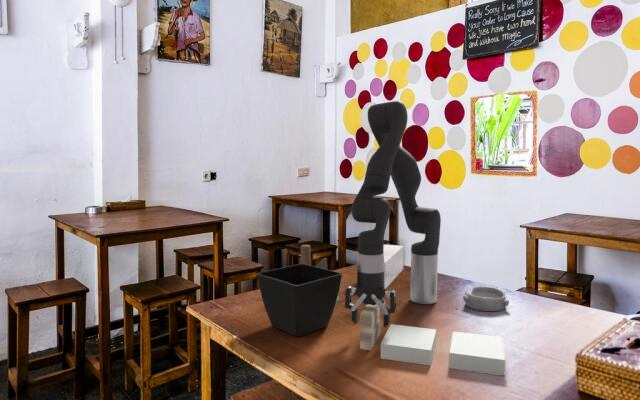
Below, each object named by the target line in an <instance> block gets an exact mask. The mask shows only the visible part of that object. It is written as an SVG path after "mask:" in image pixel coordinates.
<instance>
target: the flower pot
mask: <svg viewBox="0 0 640 400" xmlns="http://www.w3.org/2000/svg"><path fill="white" fill-rule="evenodd" d="M342 275H343V274H342V272H338V271H335V270H331V269H328V268H327V269H323V268H318V267H315V266H314V265H311V266H310V265H306V264H301V263H298V264H294V265H288V266H284V267H279V268H275V269H270V270H266V271H265V270H264V271H261V272H257V280H258V287H259V291H260V295H261V299H262V301H263V302H262V303H263V307H264V308H265V312H266V313H267V317H268V319H269V321H270V325H271V326H272V327H273V328H276V329H278V330H281V331H283V332H285V333H288V334H289V335H292V336H295V337H302V336H304V335H307V334H310V333H313V332H315V331H319V330H321V329H323V328H326V327H328V325H329V324H330V322H331V319H332V315H333V313H334V311H335V307H336V305H337V297H339V291H340V289H341V282H342V277H343V276H342Z"/></svg>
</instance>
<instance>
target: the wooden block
mask: <svg viewBox="0 0 640 400" xmlns="http://www.w3.org/2000/svg"><path fill="white" fill-rule="evenodd" d="M300 264H306V265H310V266H312V263H311V245H310V244H302V245H300ZM314 267H318V268H323V269H327V270H328V258H327V257H325V258H322V259H320V261H318V263H317V264H316V265H315V266H314Z"/></svg>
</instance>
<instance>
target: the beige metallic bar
mask: <svg viewBox="0 0 640 400" xmlns="http://www.w3.org/2000/svg"><path fill="white" fill-rule="evenodd" d="M359 318H360V319H359V327H360V329H359V332H360V333H359V334H360V335H359V341H360V342H359V349H360V350H365V351H372V349H373V347H374V345H375V344H376V342H377V341H378V338H379V336H380V335H381V309H380V308H379V307H378V305H371V304H368V305H366V304H365V307H364V308H362V311H361V312H360V314H359Z"/></svg>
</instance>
